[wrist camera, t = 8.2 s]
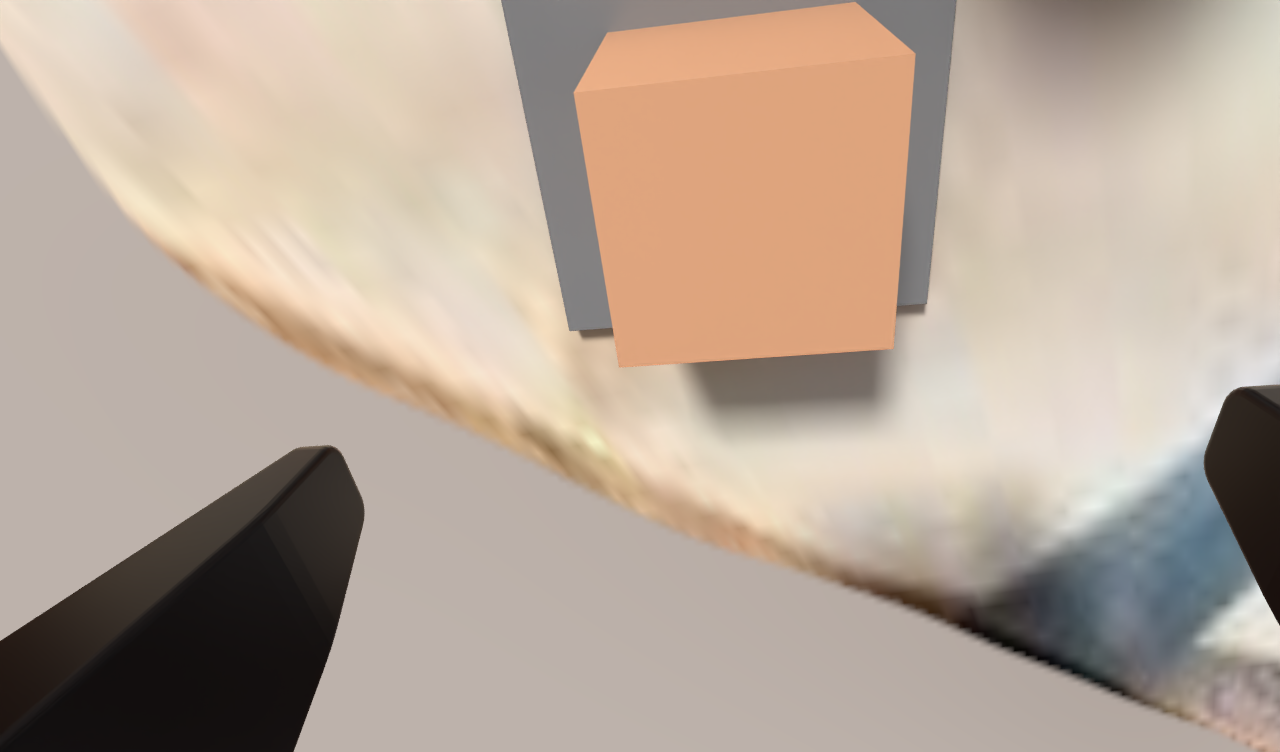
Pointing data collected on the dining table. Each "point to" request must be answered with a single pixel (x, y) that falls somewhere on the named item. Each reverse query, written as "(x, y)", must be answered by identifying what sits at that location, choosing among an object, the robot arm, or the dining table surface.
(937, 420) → the dining table surface
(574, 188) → the coaster
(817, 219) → the cube
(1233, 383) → the dining table surface
